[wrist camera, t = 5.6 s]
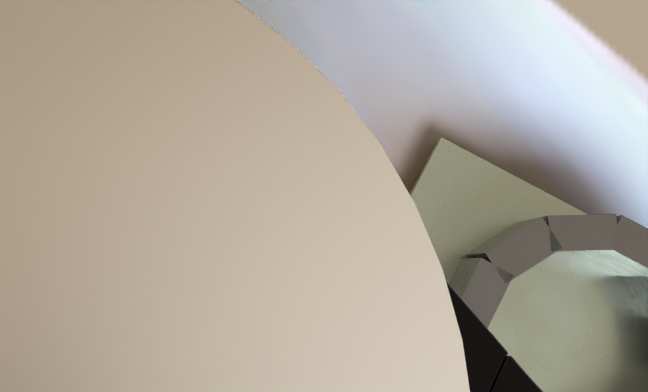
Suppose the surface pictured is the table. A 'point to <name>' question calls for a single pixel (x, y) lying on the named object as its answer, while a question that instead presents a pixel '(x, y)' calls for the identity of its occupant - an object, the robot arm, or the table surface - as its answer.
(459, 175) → the grey ring base plate
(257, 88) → the post
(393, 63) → the table surface
